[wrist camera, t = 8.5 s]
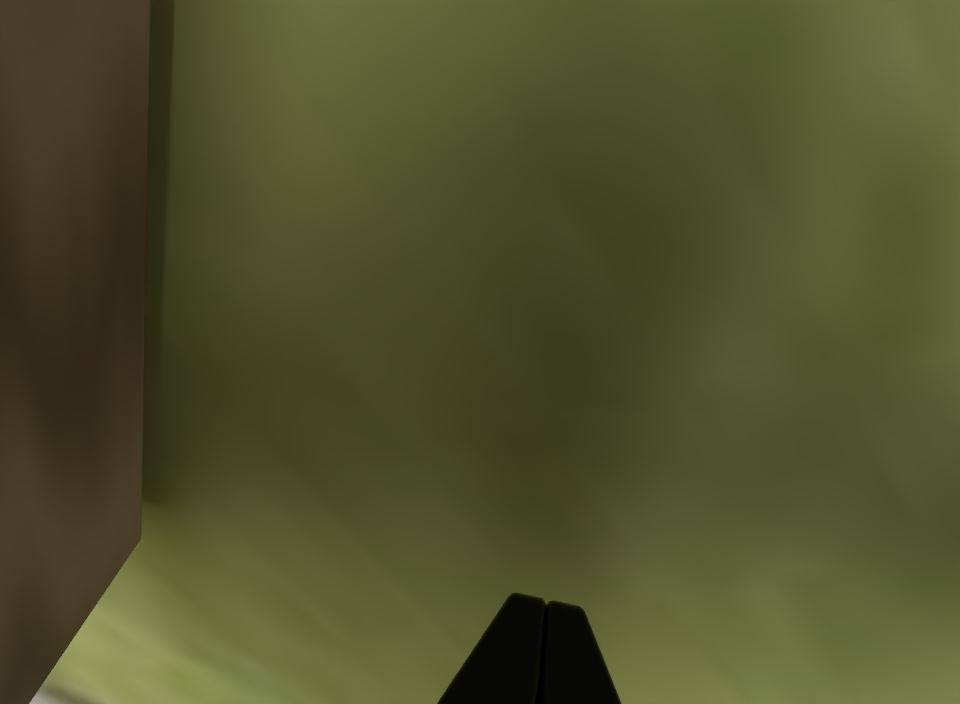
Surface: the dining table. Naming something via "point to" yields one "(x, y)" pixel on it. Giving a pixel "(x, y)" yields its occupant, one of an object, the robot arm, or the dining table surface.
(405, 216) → the dining table surface
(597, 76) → the dining table surface
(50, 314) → the brown wooden plank
